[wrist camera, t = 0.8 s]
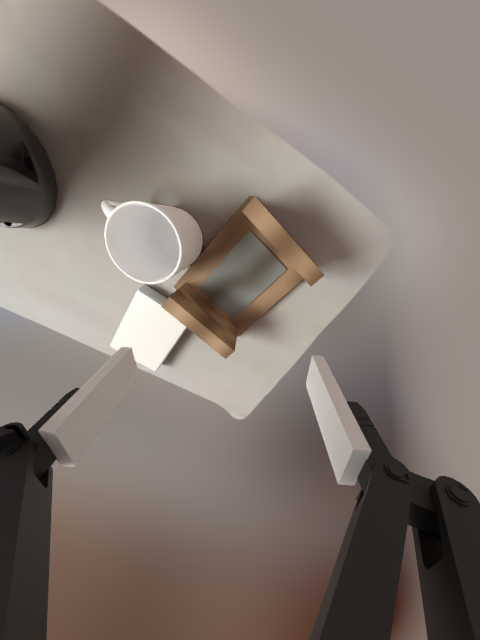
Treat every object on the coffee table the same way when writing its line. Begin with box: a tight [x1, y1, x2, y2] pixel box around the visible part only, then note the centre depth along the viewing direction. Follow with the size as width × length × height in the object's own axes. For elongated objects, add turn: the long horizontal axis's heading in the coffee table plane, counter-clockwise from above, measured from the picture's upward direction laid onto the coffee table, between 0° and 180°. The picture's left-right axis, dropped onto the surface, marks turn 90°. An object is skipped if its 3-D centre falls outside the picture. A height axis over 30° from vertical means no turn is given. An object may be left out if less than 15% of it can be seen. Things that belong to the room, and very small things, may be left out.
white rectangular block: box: [109, 285, 187, 372], centre depth 38 cm, size 10×14×3 cm
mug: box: [101, 200, 203, 284], centre depth 27 cm, size 9×12×11 cm
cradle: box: [161, 196, 324, 359], centre depth 30 cm, size 14×18×8 cm
